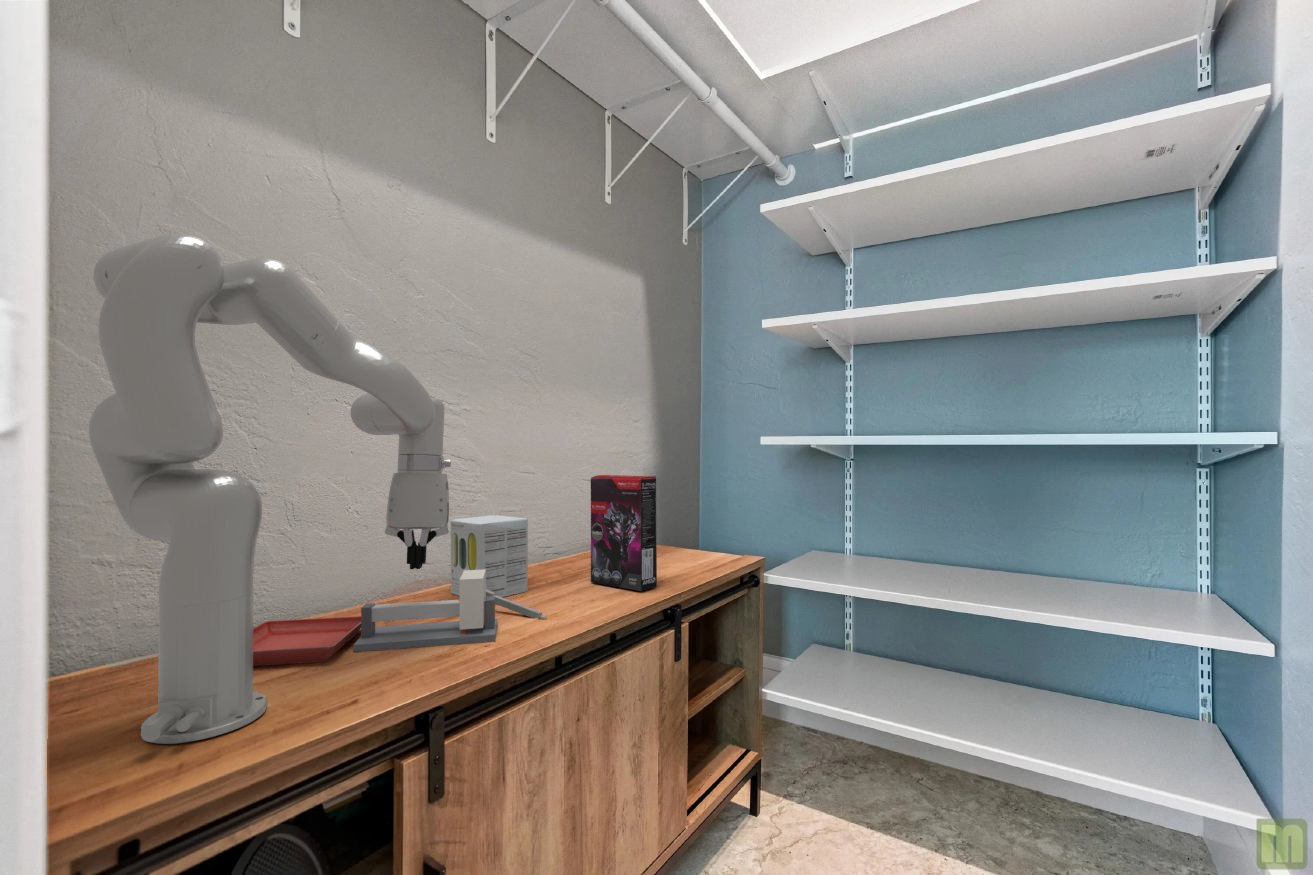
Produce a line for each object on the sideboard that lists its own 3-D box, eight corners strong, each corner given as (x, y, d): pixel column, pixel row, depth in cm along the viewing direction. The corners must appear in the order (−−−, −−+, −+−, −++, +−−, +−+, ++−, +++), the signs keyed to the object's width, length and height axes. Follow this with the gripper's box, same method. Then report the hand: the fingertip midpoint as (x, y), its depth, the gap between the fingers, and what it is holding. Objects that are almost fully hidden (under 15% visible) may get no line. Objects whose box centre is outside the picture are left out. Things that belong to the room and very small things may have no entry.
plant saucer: (265, 637, 108) (265, 619, 108) (369, 631, 111) (369, 614, 111) (206, 675, 90) (207, 653, 90) (333, 667, 93) (333, 646, 93)
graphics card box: (588, 583, 148) (587, 475, 149) (606, 578, 154) (606, 474, 154) (641, 593, 138) (640, 477, 138) (659, 587, 143) (658, 475, 144)
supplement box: (448, 593, 139) (448, 519, 139) (496, 583, 149) (496, 514, 149) (481, 602, 130) (481, 523, 131) (529, 591, 140) (529, 518, 141)
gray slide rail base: (495, 641, 104) (494, 604, 104) (353, 651, 99) (353, 613, 99) (497, 624, 114) (497, 591, 114) (368, 633, 109) (368, 598, 109)
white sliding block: (483, 627, 105) (483, 578, 105) (459, 629, 104) (459, 579, 104) (485, 615, 113) (485, 569, 113) (463, 616, 112) (463, 570, 112)
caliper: (465, 609, 126) (465, 580, 126) (469, 608, 127) (469, 579, 127) (544, 621, 117) (543, 589, 117) (547, 619, 118) (547, 588, 118)
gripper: (465, 466, 112) (462, 564, 111) (380, 465, 109) (376, 565, 107) (461, 466, 104) (457, 570, 103) (370, 464, 101) (365, 572, 100)
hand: (416, 567), depth 105 cm, fingers closed
